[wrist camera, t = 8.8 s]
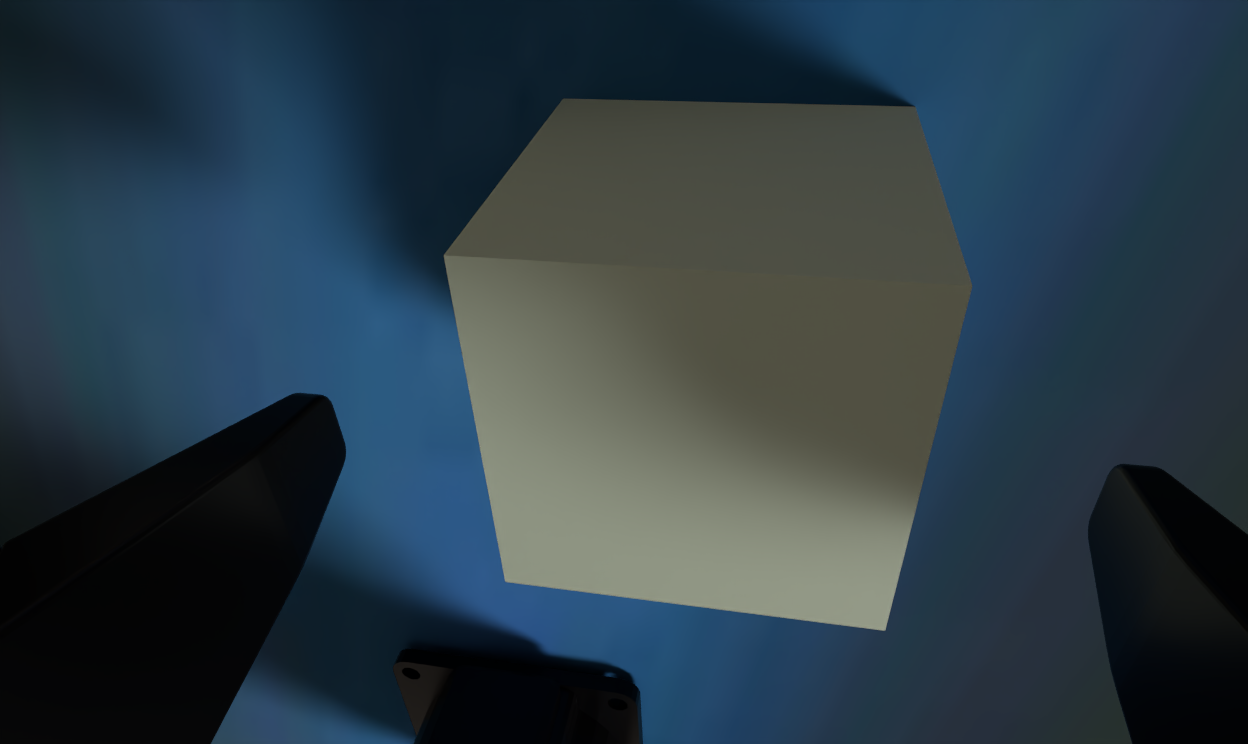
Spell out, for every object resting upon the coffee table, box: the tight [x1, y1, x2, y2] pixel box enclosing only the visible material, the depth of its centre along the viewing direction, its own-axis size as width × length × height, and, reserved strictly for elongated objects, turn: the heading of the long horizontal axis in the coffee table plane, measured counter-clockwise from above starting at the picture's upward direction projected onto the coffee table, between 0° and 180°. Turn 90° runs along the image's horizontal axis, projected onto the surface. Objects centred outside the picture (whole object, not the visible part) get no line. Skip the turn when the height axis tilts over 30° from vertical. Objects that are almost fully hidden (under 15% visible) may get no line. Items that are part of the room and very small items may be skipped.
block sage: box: [444, 99, 972, 631], centre depth 11 cm, size 5×5×5 cm
